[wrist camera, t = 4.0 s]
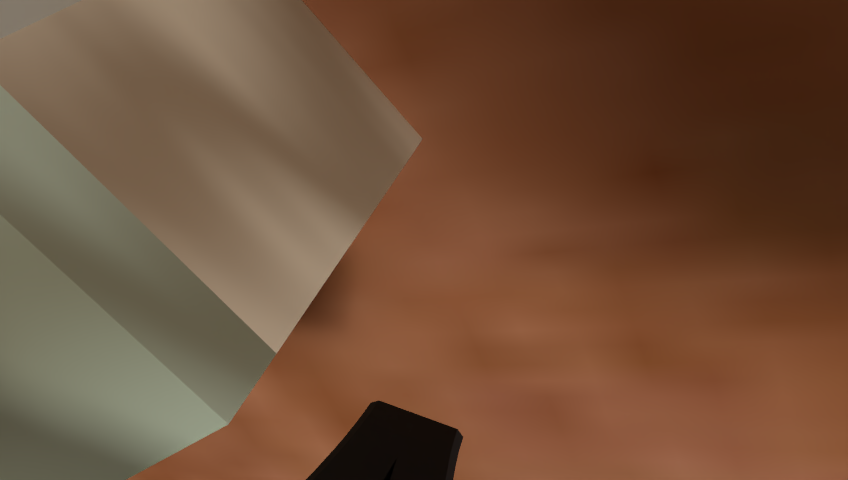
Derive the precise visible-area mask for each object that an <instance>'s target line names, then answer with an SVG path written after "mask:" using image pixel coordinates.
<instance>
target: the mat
mask: <svg viewBox="0 0 848 480" xmlns="http://www.w3.org/2000/svg"><path fill="white" fill-rule="evenodd" d="M79 1H81V0H0V39H1V38H3V37H5V36H7V35H10V34H12V33H14V32H16V31H18V30H20V29H22V28H24V27H26V26H29V25H31V24H33V23H35V22H37V21H39V20H41V19H43V18H45V17H48V16H50V15H52V14H54V13H56V12H58V11H60V10H62V9H64V8H66V7H69V6H71V5H73V4H75V3H77V2H79Z"/></svg>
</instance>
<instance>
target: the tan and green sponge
mask: <svg viewBox="0 0 848 480" xmlns="http://www.w3.org/2000/svg"><path fill="white" fill-rule="evenodd" d="M421 141H422V138H421V137H420V135H419V134H418V133H417V132H416V131H415V130H414V129H413V127H412V126H411V125H410V124H409V123H408V122H407V121H406V119H405V118H404V117H403V116H402V115H401V114H400V113H399V111H398V110H397V109H396V108H395V107H394V106H393V105H392V103H391V102H390V101H389V100H388V99H387V98H386V96H385V95H384V94H383V93H382V92H381V91H380V90H379V88H378V87H377V86H376V85H375V84H374V83H373V82H372V80H371V79H370V78H369V77H368V76H367V75H366V74H365V72H364V71H363V70H362V69H361V68H360V67H359V65H358V64H357V63H356V62H355V61H354V60H353V59H352V57H351V56H350V55H349V54H348V53H347V52H346V51H345V49H344V48H343V47H342V46H341V45H340V44H339V43H338V41H337V40H336V39H335V38H334V37H333V36H332V34H331V33H330V32H329V31H328V30H327V29H326V28H325V26H324V25H323V24H322V23H321V22H320V21H319V20H318V18H317V17H316V16H315V15H314V14H313V13H312V12H311V10H310V9H309V8H308V7H307V6H306V5H305V4H304V2H303V1H302V0H81V1H79V2H77V3H75V4H73V5H71V6H69V7H66V8H64V9H62V10H60V11H58V12H56V13H54V14H52V15H50V16H48V17H45V18H43V19H41V20H39V21H37V22H35V23H33V24H31V25H29V26H26V27H24V28H22V29H20V30H18V31H16V32H14V33H12V34H10V35H7V36H5V37H3V38H1V39H0V480H126V479H128V478H130V477H132V476H133V475H135V474H137V473H139V472H141V471H143V470H145V469H146V468H148V467H150V466H152V465H154V464H156V463H157V462H159V461H161V460H163V459H165V458H167V457H169V456H170V455H172V454H174V453H176V452H178V451H180V450H182V449H183V448H185V447H187V446H189V445H191V444H193V443H195V442H196V441H198V440H200V439H202V438H204V437H206V436H207V435H209V434H211V433H213V432H215V431H217V430H219V429H220V428H222V427H224V426H226V425H228V424H229V423H230V421H231V420H232V418H233V417H234V415H235V414H236V412H237V411H238V409H239V408H240V406H241V405H242V404H243V402H244V401H245V399H246V398H247V396H248V395H249V393H250V392H251V390H252V389H253V387H254V386H255V384H256V383H257V381H258V380H259V379H260V377H261V376H262V374H263V373H264V371H265V370H266V368H267V367H268V365H269V364H270V362H271V361H272V359H273V358H274V357H275V355H276V354H277V352H278V351H279V349H280V348H281V346H282V345H283V343H284V342H285V340H286V339H287V337H288V336H289V334H290V333H291V332H292V330H293V329H294V327H295V326H296V324H297V323H298V321H299V320H300V318H301V317H302V315H303V314H304V312H305V311H306V310H307V308H308V307H309V305H310V304H311V302H312V301H313V299H314V298H315V296H316V295H317V293H318V292H319V290H320V289H321V288H322V286H323V285H324V283H325V282H326V280H327V279H328V277H329V276H330V274H331V273H332V271H333V270H334V268H335V267H336V265H337V264H338V263H339V261H340V260H341V258H342V257H343V255H344V254H345V252H346V251H347V249H348V248H349V246H350V245H351V243H352V242H353V241H354V239H355V238H356V236H357V235H358V233H359V232H360V230H361V229H362V227H363V226H364V224H365V223H366V221H367V220H368V218H369V217H370V216H371V214H372V213H373V211H374V210H375V208H376V207H377V205H378V204H379V202H380V201H381V199H382V198H383V196H384V195H385V194H386V192H387V191H388V189H389V188H390V186H391V185H392V183H393V182H394V180H395V179H396V177H397V176H398V174H399V173H400V171H401V170H402V169H403V167H404V166H405V164H406V163H407V161H408V160H409V158H410V157H411V155H412V154H413V152H414V151H415V149H416V148H417V147H418V145H419V144H420V142H421Z"/></svg>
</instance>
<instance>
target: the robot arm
mask: <svg viewBox="0 0 848 480" xmlns="http://www.w3.org/2000/svg"><path fill="white" fill-rule="evenodd" d="M462 439H463V436H462V435H461V433H460V432H459V431H458V429H455V428H453V427H450V426H447V425H444V424H442V423H439V422H436V421H434V420H431V419H428V418H425V417H423V416H420V415H417V414H414V413H412V412H409V411H406V410H403V409H401V408H398V407H395V406H392V405H390V404H387V403H384V402H382V401H376V402H372V403H370V405H369V406H368V407H367V409H366V410H365V412H364V413H363V414H362V416H361V417H360V418H359V420H358V421H357V422H356V424H355V425H354V426H353V427H352V429H351V430H350V431H349V432H348V434H347V435H346V436H345V437H344V438H343V440H342V441H341V442H340V443H339V444H338V445H337V447H336V448H335V449H334V450H333V451H332V452H331V453H330V454H329V456H328V457H327V458H326V459H325V460H324V461H323V462H322V463H321V464H320V465H319V467H318V468H317V469H316V470H315V471H314V472H313V473H312V474H311V475H310V476H309V477H308V478H307V479H306V480H453V477H454V471H455V466H456V461H457V457H458V452H459V449H460V446H461V442H462Z"/></svg>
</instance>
